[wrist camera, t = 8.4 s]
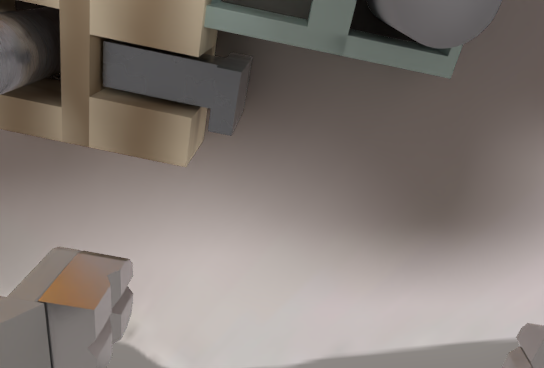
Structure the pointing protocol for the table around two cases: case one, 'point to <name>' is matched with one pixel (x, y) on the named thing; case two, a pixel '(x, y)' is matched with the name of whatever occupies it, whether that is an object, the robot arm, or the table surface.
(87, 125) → the socket block
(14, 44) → the grey metal cylinder
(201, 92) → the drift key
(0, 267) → the table surface
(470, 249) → the table surface
